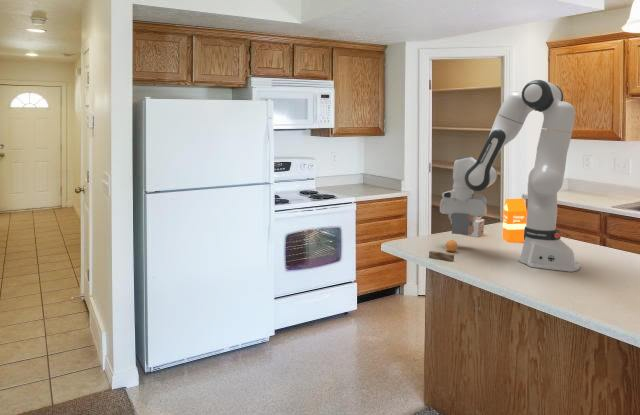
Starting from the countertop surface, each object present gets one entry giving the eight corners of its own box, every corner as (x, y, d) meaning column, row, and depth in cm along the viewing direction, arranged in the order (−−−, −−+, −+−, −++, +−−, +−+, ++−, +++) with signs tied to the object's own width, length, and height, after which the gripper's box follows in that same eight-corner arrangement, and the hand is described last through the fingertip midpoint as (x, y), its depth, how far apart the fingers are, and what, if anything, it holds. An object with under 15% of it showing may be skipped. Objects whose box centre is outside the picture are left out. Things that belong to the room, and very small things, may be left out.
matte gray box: (473, 231, 235) (474, 212, 233) (468, 235, 229) (468, 215, 227) (457, 230, 239) (457, 211, 237) (451, 233, 233) (451, 213, 231)
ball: (454, 243, 223) (454, 254, 225) (459, 239, 227) (459, 250, 229) (443, 241, 226) (443, 252, 228) (448, 237, 230) (448, 248, 232)
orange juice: (526, 241, 247) (527, 199, 245) (507, 242, 247) (508, 199, 245) (520, 238, 255) (521, 197, 252) (502, 239, 255) (502, 198, 253)
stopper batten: (454, 260, 214) (454, 254, 213) (452, 261, 212) (452, 255, 212) (430, 256, 219) (431, 250, 219) (428, 257, 218) (429, 251, 217)
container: (477, 237, 257) (479, 210, 254) (462, 234, 261) (464, 209, 259) (483, 234, 263) (485, 208, 261) (468, 232, 267) (470, 207, 265)
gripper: (489, 194, 227) (488, 225, 229) (443, 191, 239) (443, 221, 241) (484, 196, 222) (483, 228, 224) (438, 193, 234) (438, 224, 236)
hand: (462, 225), depth 233 cm, fingers closed on matte gray box, 7 cm apart
